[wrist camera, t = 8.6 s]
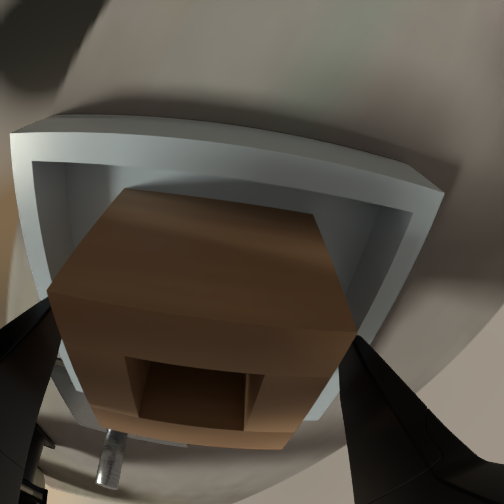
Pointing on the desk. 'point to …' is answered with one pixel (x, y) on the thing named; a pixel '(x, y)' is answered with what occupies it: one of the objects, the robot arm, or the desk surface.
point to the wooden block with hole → (202, 319)
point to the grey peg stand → (85, 417)
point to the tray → (225, 196)
